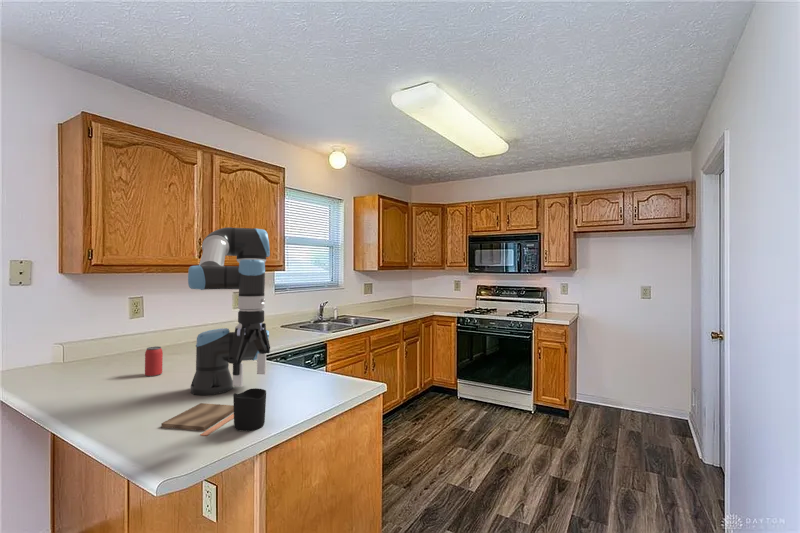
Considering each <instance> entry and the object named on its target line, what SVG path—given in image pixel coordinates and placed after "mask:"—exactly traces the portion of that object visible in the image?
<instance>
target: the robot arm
mask: <svg viewBox="0 0 800 533" xmlns="http://www.w3.org/2000/svg"><path fill="white" fill-rule="evenodd" d="M201 248H202V249H201V250H202V255H201V258H200V261H199V264H197V265H191V266H189V267H188V270H187V271H188V272H187V284H188V287H189V288H190V289H191V290H201V291H204V290H205V291H206V290H238V298H237V299H238V301H237V304H238V305H237V308H238V310H239V311H238V312H237V322H238V324H237V325H236V326H235V328H234V331H231V330H230V328H225V327H224V328H223V327H222V328H214V329H209V330H206V331H202V332H200V333H199V334H198V335H197V336H196V343H195V347H196V349H195V350H196V352H195V354H196V355H195V356H196V357H195V358H196V359H195V372H194V376H193V377H192V381H191V384H190V393H191V394H193V395H197V396H211V395H219V394H222V393H226V392H229V391H231V390H232V389H234V387H244V363H243V361H244V362H245V361H247V362H248V361H256V375H267V354H269V353H270V352H271V344H270V341H269V339H270V331H269V330H267V327H266V326H267V325H266V323H265V311H264V308H265V302H266V299H265V295H266V294H265V286H266V285H265V284H266V282H265V281H266V262H267V258H269V257H270V256H271V251H270V241H269V234H268V232H267V231H266V230H265V229H264V228H263V229H262V228H250V227H249V228H248V227H247V228H246V227H222V228H219V229H216V230H214V231H212V232H210V233H208V234H207V235H206V236H205V237H204V238H203V241H202V245H201ZM226 256H227V257H230V256H231V257H236V261H237V263H239V264H238V266H237V265H235V266H234V265H225V259H226ZM229 364H230V365H231V364H232V375H231V371H230V367H229V366H230V365H229Z"/></svg>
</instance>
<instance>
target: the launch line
mask: <svg viewBox="0 0 800 533" xmlns="http://www.w3.org/2000/svg"><path fill="white" fill-rule="evenodd" d="M232 420H234V412H233V413H232V414H230V415H228V416H227V417H225V418H224V419H222V420H221V421H219V422H217V423H216V424H214V425H213V426H211V427H209V428H208V429H206V430H205V431H202V433H201V434H200V437H201V436H203V437H208V436H209V435H210V434H212V433H213V432H215V431H216V430H218V429H220V428H222V427H223V426H224V425H227V423H229V422H231V421H232Z"/></svg>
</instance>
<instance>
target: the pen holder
mask: <svg viewBox="0 0 800 533" xmlns="http://www.w3.org/2000/svg"><path fill="white" fill-rule="evenodd" d="M232 396H233V398H232V399H233V402H232V403H233V405H234V412H233V413H234V418H233V426H234V429H235V430H236V431H240V432H252V431H255V430H259V429H261V428H262V427H263V426H264V425H265V422H266V421H265V420H266V419H265V418H266V407H267V405H266V404H267V390H266V389H263V388H257V387H256V388H249V389H246V390H244V391H242V392H240V393H233V395H232Z"/></svg>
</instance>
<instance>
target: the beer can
mask: <svg viewBox="0 0 800 533" xmlns="http://www.w3.org/2000/svg"><path fill="white" fill-rule="evenodd" d="M163 353H164V352H163V349H162V347H161V346H149V347H146V350H145V352H144V356H145V357H144V376H146V377H158V376H161V375H162V374H163Z"/></svg>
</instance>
